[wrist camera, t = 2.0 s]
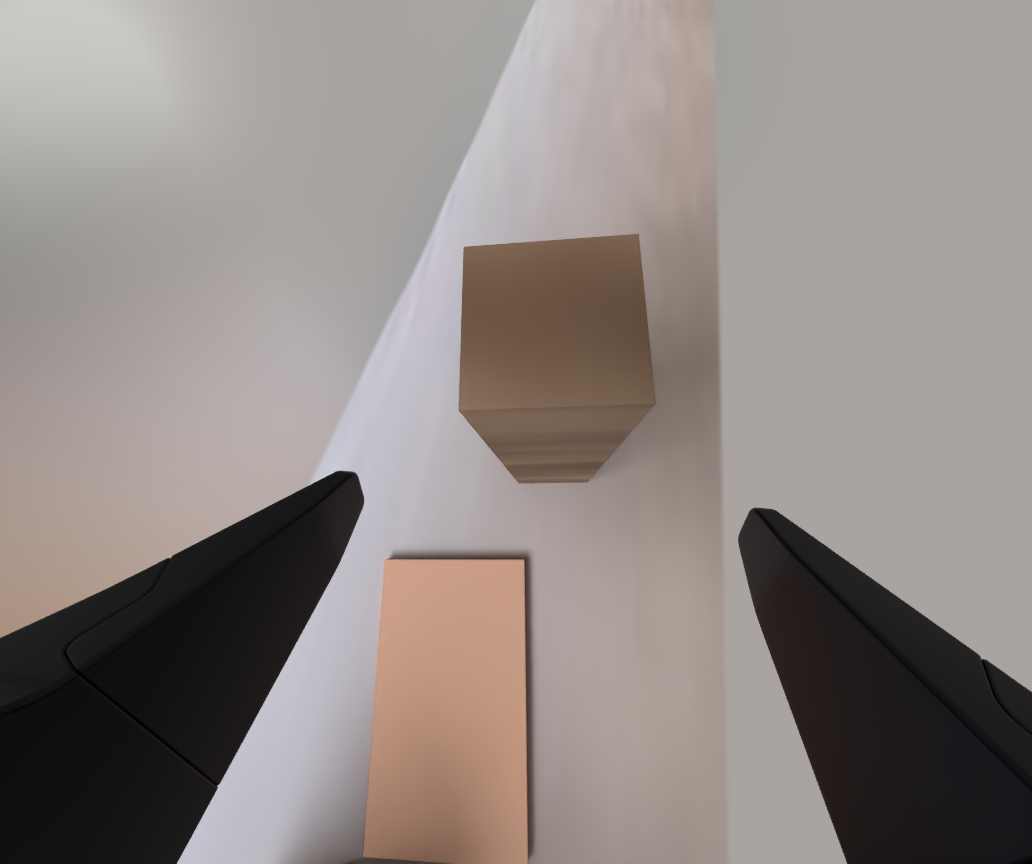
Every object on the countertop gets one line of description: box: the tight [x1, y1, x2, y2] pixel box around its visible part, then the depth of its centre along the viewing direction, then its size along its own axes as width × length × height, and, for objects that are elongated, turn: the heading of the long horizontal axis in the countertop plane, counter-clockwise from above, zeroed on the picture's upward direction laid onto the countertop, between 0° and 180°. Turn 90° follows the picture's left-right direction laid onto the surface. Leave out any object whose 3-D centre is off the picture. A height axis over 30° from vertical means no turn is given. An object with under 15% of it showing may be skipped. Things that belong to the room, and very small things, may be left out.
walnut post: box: [459, 234, 656, 483], centre depth 13 cm, size 4×4×13 cm
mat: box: [363, 559, 528, 864], centre depth 17 cm, size 12×7×1 cm, turn 0°
